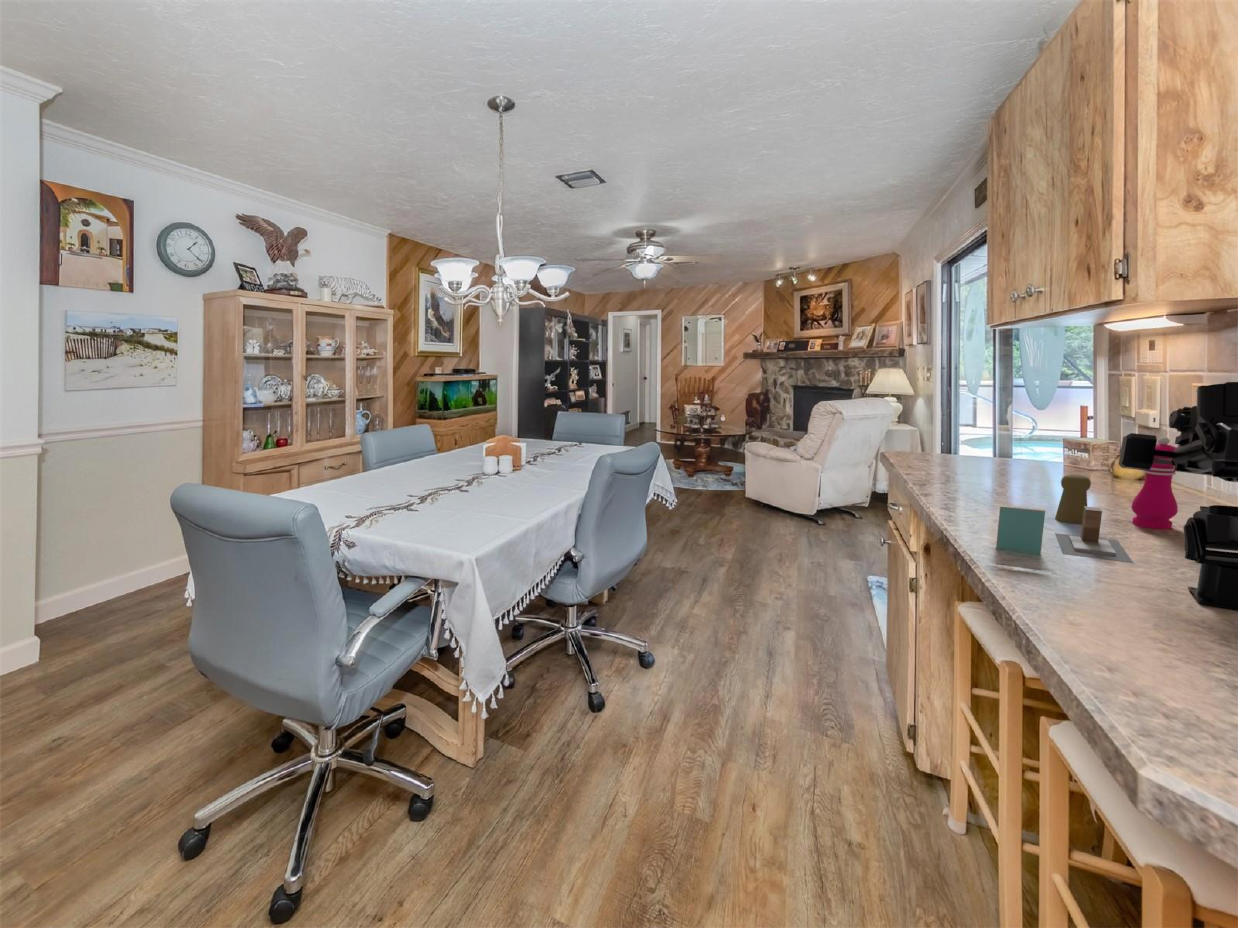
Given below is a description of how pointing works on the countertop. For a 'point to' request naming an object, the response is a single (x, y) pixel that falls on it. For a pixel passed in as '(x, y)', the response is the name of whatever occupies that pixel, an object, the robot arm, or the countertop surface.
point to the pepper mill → (1156, 494)
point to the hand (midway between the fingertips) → (1171, 463)
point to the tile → (1020, 529)
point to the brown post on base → (1091, 534)
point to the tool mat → (1069, 550)
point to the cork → (1073, 499)
